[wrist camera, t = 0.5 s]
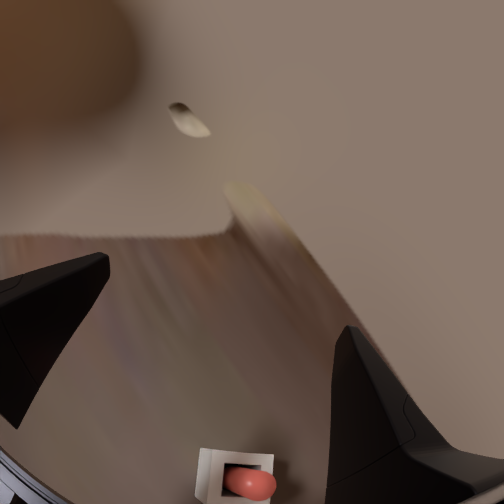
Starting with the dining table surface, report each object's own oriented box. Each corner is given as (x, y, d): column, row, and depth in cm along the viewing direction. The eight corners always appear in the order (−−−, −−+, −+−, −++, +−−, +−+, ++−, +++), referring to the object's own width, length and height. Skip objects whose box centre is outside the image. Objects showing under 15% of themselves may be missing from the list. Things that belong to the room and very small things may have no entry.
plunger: (246, 491, 16) (275, 500, 12) (218, 489, 15) (241, 501, 12) (248, 466, 17) (277, 470, 14) (220, 464, 17) (244, 470, 13)
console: (249, 499, 17) (269, 507, 14) (194, 496, 15) (206, 506, 13) (253, 453, 20) (273, 454, 17) (200, 447, 19) (212, 449, 16)
